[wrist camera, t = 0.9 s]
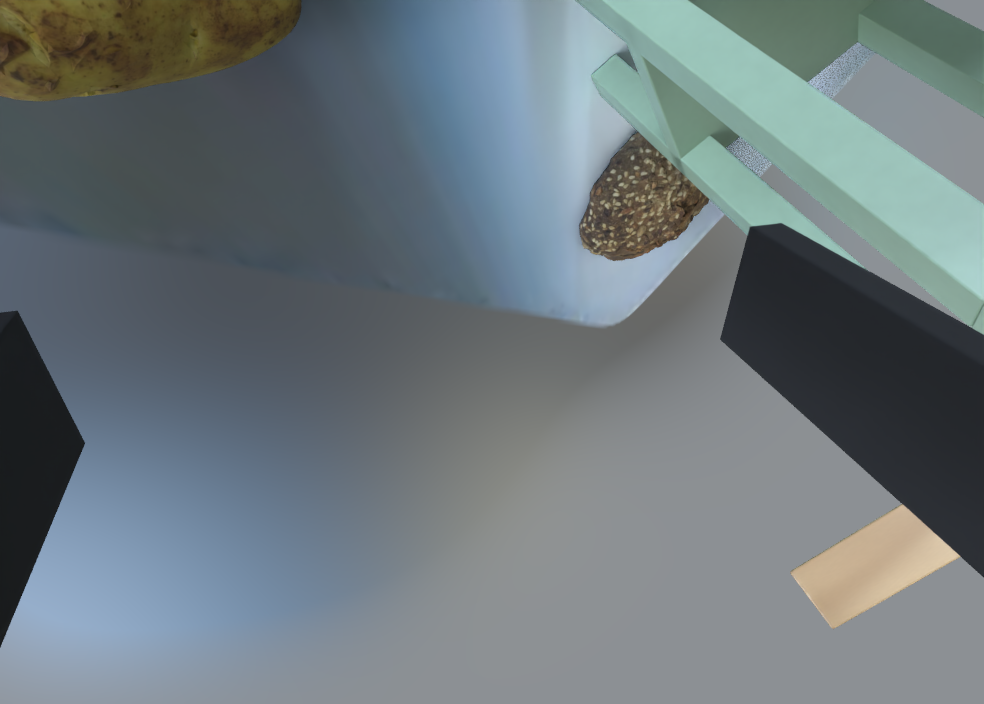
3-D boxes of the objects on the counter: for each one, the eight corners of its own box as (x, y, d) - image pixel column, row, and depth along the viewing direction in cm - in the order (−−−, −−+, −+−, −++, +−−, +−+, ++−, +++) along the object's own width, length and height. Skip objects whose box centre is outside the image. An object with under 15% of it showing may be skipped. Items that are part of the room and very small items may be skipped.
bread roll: (645, 99, 42) (688, 138, 39) (733, 143, 50) (774, 177, 47) (547, 242, 49) (578, 283, 46) (638, 260, 57) (669, 296, 54)
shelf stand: (521, -63, 30) (1032, 340, 15) (743, -282, 27) (1649, -52, 12) (600, 96, 39) (955, 434, 25) (769, -52, 37) (1283, 230, 22)
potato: (243, 106, 30) (282, 201, 26) (-124, -11, 21) (-157, 103, 17) (301, -67, 26) (359, 12, 21) (-131, -303, 17) (-179, -248, 13)
